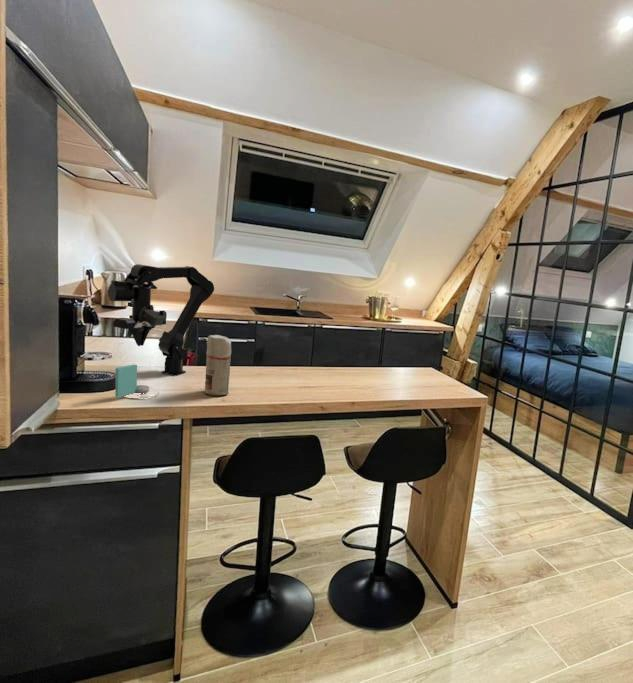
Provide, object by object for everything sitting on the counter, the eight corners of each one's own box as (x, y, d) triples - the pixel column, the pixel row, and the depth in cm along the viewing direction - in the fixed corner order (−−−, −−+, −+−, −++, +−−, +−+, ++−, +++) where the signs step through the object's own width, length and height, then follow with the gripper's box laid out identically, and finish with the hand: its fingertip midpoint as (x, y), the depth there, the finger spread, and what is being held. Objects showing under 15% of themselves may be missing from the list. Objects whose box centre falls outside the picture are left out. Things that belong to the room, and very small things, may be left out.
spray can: (202, 389, 139) (205, 332, 135) (226, 388, 142) (230, 333, 138) (205, 397, 131) (208, 337, 128) (230, 396, 134) (234, 338, 131)
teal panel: (142, 387, 132) (142, 360, 130) (152, 390, 130) (153, 363, 128) (111, 395, 122) (111, 366, 121) (122, 399, 120) (122, 370, 118)
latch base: (134, 386, 135) (134, 384, 135) (165, 390, 133) (165, 389, 133) (114, 396, 124) (114, 394, 124) (147, 401, 123) (147, 399, 123)
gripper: (138, 305, 127) (136, 353, 130) (178, 303, 144) (176, 345, 147) (112, 301, 131) (111, 347, 134) (154, 299, 148) (153, 340, 151)
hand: (140, 345), depth 141 cm, fingers closed
